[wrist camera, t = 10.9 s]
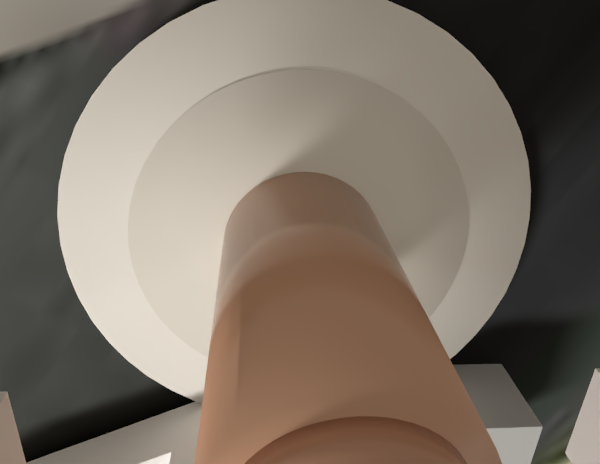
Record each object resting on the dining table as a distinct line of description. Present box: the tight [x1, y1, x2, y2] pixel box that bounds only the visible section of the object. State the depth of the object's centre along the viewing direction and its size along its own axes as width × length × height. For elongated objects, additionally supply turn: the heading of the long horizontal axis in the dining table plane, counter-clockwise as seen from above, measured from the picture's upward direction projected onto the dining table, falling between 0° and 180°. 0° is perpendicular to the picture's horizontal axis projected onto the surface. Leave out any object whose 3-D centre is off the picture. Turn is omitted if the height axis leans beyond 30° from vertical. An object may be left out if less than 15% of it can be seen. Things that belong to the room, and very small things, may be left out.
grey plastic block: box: [453, 364, 543, 464], centre depth 24 cm, size 4×4×4 cm
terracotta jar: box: [195, 172, 502, 464], centre depth 14 cm, size 6×6×12 cm
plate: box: [57, 0, 531, 403], centre depth 20 cm, size 18×18×1 cm
